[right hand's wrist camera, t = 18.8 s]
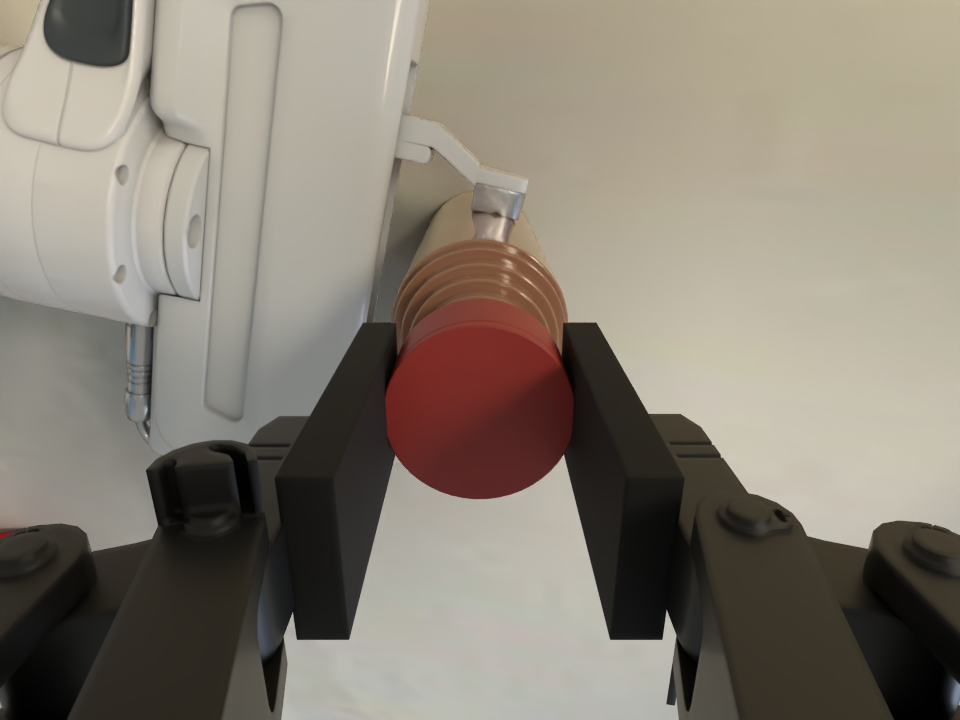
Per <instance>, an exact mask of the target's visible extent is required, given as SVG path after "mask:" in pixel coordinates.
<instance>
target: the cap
mask: <svg viewBox="0 0 960 720" xmlns="http://www.w3.org/2000/svg"><path fill="white" fill-rule="evenodd" d="M385 403H386V419H387V435H388V440H389V443H390V446H391V447H392V449H393V451H394V453H395V455H396V456H397V458H398V459H399V460H400V462H401V463H402V464H403V466H404V467H405V468H406V469H407V470H408V471H409V472H410V473H411V474H412V475H414V476H415V477H416V478H417V479H419V480H420V481H422V482H423V483H425V484H426V485H428V486H430V487H432V488H434V489H436V490H438V491H440V492H443V493H446V494H449V495H452V496H457V497H461V498H470V499H490V498H498V497H502V496H507V495H510V494H513V493H516V492H519V491H521V490H523V489H525V488H527V487H529V486H531V485H533V484H534V483H536V482H537V481H539V480H540V479H542V478H543V477H544V476H545V475H546V474H548V473H549V472H550V471H551V470H552V469H553V468H554V467H555V465H556V464H557V463H558V462H559V460H560V459H561V458H562V456H563V455H564V453H565V451H566V449H567V447H568V445H569V443H570V441H571V437H572V424H573V407H574V393H573V389H572V385H571V383H570V380H569V377H568V374H567V371H566V368H565V365H564V362H563V359H562V356H561V354H560V351H559V349H558V346H557V344H556V342H555V341H554V339H553V337H552V336H551V334H550V333H549V332H548V330H547V329H546V328H545V327H544V326H543V325H542V324H541V323H540V322H539V321H538V320H537V319H536V318H535V317H533V316H532V315H530V314H529V313H528V312H526V311H524V310H522V309H520V308H519V307H516V306H514V305H511V304H509V303H505V302H501V301H497V300H490V299H469V300H462V301H458V302H454V303H450V304H448V305H445V306H443V307H441V308H438V309H437V310H435V311H433V312H432V313H430V314H428V315H427V316H426V317H425V318H423V319H422V320H421V321H420V322H419V323H418V324H417V325H416V326H415V327H414V328H413V329H412V330H411V332H410V333H409V334H408V336H407V337H406V339H405V341H404V343H403V344H402V346H401V349H400V351H399V354H398V357H397V360H396V363H395V366H394V368H393V371H392V374H391V377H390V380H389V383H388V386H387V389H386V393H385Z"/></svg>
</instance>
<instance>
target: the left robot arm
mask: <svg viewBox="0 0 960 720" xmlns="http://www.w3.org/2000/svg"><path fill="white" fill-rule="evenodd" d="M429 2H430V0H40V2H39V6H38V8H37V11H36V14H35V17H34V20H33V23H32V26H31V29H30V31H29V34H28V36H27V39H26V41H25V44H24V45H0V295H1V296H4V297H8V298H11V299H16V300H20V301H25V302H30V303H35V304H39V305H44V306H49V307H54V308H58V309H63V310H68V311H73V312H78V313H82V314H88V315H93V316H98V317H102V318H107V319H112V320H117V321H121V322H126V349H125V351H126V363H127V371H128V385H127V387H126V390H125V396H124V405H125V412H126V415H127V418H128V419H129V420H131V421H133V422H135V423H136V426H137V429H138V431H139V433H140V434H141V436H142V437H143V439H144V440H145V441H146V442H147V443H148V444H149V446H150V448H151V449H152V450H153V451H154V452H156V453H158V454H160V455H165V454H167V453H169V452H170V451H172V450H175V449H178V448H181V447H184V446H187V445H190V444H193V443H199V442H205V441H211V440H233V441H238V442H242V443H246V444H249V442H250V441H251V439H252V438H253V436H254V435H255V434H256V432H257V431H258V429H260V428H261V427H263V426H264V425H266V424H268V423H269V422H271V421H272V420H274V419H275V418H277V417H278V416H310V415H311V413H312V411H313V409H314V408H315V406H316V404H317V402H318V401H319V399H320V397H321V395H322V394H323V392H324V390H325V388H326V387H327V385H328V383H329V381H330V380H331V378H332V376H333V374H334V373H335V371H336V369H337V367H338V366H339V364H340V362H341V360H342V358H343V357H344V355H345V353H346V351H347V350H348V348H349V346H350V344H351V343H352V341H353V339H354V337H355V336H356V334H357V332H358V330H359V329H360V327H361V325H362V323H374V317H375V312H376V306H377V300H378V294H379V289H380V283H381V277H382V271H383V266H384V260H385V254H386V249H387V243H388V237H389V231H390V226H391V220H392V214H393V208H394V203H395V197H396V191H397V186H398V180H399V174H400V168H401V163H402V159H403V160H408V161H412V162H417V163H421V164H426V163H428V162H429V161H430V160H432V159H433V156H434V151H435V150H436V151H437V152H438V153H439V154H440V155H441V156H442V157H443V158H444V159H445V160H446V161H448V162H449V163H450V164H451V165H452V166H453V167H454V168H455V169H456V170H457V171H458V172H459V173H460V174H461V175H463V176H464V177H465V178H466V179H467V180H468V181H469V182H470V183H471V184H472V185H473V186H474V187H475V190H474V195H473V200H472V205H471V210H473V211H477V212H481V213H488V214H491V213H494V212H497V213H498V214H499V215H500V216H501V217H504V218H507V219H512V220H519V217H520V213H521V209H522V205H523V202H524V198H525V193H526V190H527V186H528V182H529V179H528V177H526V176H523V175H520V174H517V173H513V172H508V171H504V170H500V169H496V168H492V167H488V166H483V165H480V160H478V159H477V158H476V157H475V156H474V155H473V154H472V153H471V152H470V151H469V150H468V149H467V148H466V147H465V146H464V145H463V144H462V143H461V142H460V141H459V140H458V139H457V138H456V137H455V136H454V135H453V134H452V133H451V132H450V131H448V130H447V129H446V128H445V127H444V126H443V125H442V124H441V123H439V122H435V121H431V120H427V119H423V118H419V117H415V116H411V115H410V111H411V105H412V100H413V94H414V88H415V82H416V77H417V71H418V65H419V60H420V54H421V48H422V42H423V37H424V31H425V25H426V19H427V14H428V8H429ZM148 420H150V428H149V426H148V424H147V421H148Z"/></svg>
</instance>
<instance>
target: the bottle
mask: <svg viewBox="0 0 960 720" xmlns="http://www.w3.org/2000/svg"><path fill="white" fill-rule="evenodd" d="M473 195H474V191H470V192H465V193H462V194H460V195H457V196H455V197H453V198H451V199H450V200H449V201H447V202H446V203H445V204H444V205H443V206H442V207H440V209H439V210H438V211H437V212H436V214H435V215H434V217H433V219H432V220H431V223H430V225H429V227H428V229H427V231H426V233H425V235H424V237H423V239H422V241H421V243H420V246H419V248H418V250H417V252H416V254H415V256H414V258H413V260H412V262H411V264H410V267H409V269H408V271H407V273H406V275H405V277H404V279H403V281H402V283H401V285H400V288H399V290H398V292H397V295H396V297H395V301H394V304H393V309H392V316H391V323H396V331H397V350H398V354H399V351H400V349H401V346H402V344H403V343H404V341H405V339H406V337H407V336H408V334H409V333H410V332H411V330H412V329H413V328H414V327H415V326H416V325H417V324H418V323H419V322H420V321H421V320H422V319H423V318H425V317H426V316H427V315H428V314H430V313H432V312H433V311H435V310H437V309H438V308H441V307H443V306H445V305H448V304H450V303H454V302H458V301H462V300H469V299H490V300H497V301H501V302H505V303H509V304H511V305H514V306H516V307H519V308H520V309H522V310H524V311H526V312H528V313H529V314H530V315H532V316H533V317H535V318H536V319H537V320H538V321H539V322H540V323H541V324H542V325H543V326H544V327H545V328H546V329H547V330H548V332H549V333H550V334H551V336H552V337H553V339H554V341H555V342H556V344H557V346H558V349H559V351H560V354H561V356H562V336H563V323H568V314H567V308H566V303H565V300H564V297H563V294H562V292H561V289H560V287H559V285H558V283H557V281H556V279H555V277H554V275H553V273H552V270H551V268H550V266H549V264H548V262H547V260H546V258H545V256H544V253H543V251H542V249H541V247H540V245H539V243H538V241H537V239H536V237H535V234H534V232H533V230H532V228H531V226H530V224H529V222H528V220H527V218H526V216H525V215H524V213H523V212H522V211H521V213H520V217H519V220H512V219H507V218H504V217H501V216H500V215H499V214H498V213H497V212H494V213H491V214H488V213H481V212H477V211H473V210H471V205H472V200H473Z"/></svg>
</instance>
